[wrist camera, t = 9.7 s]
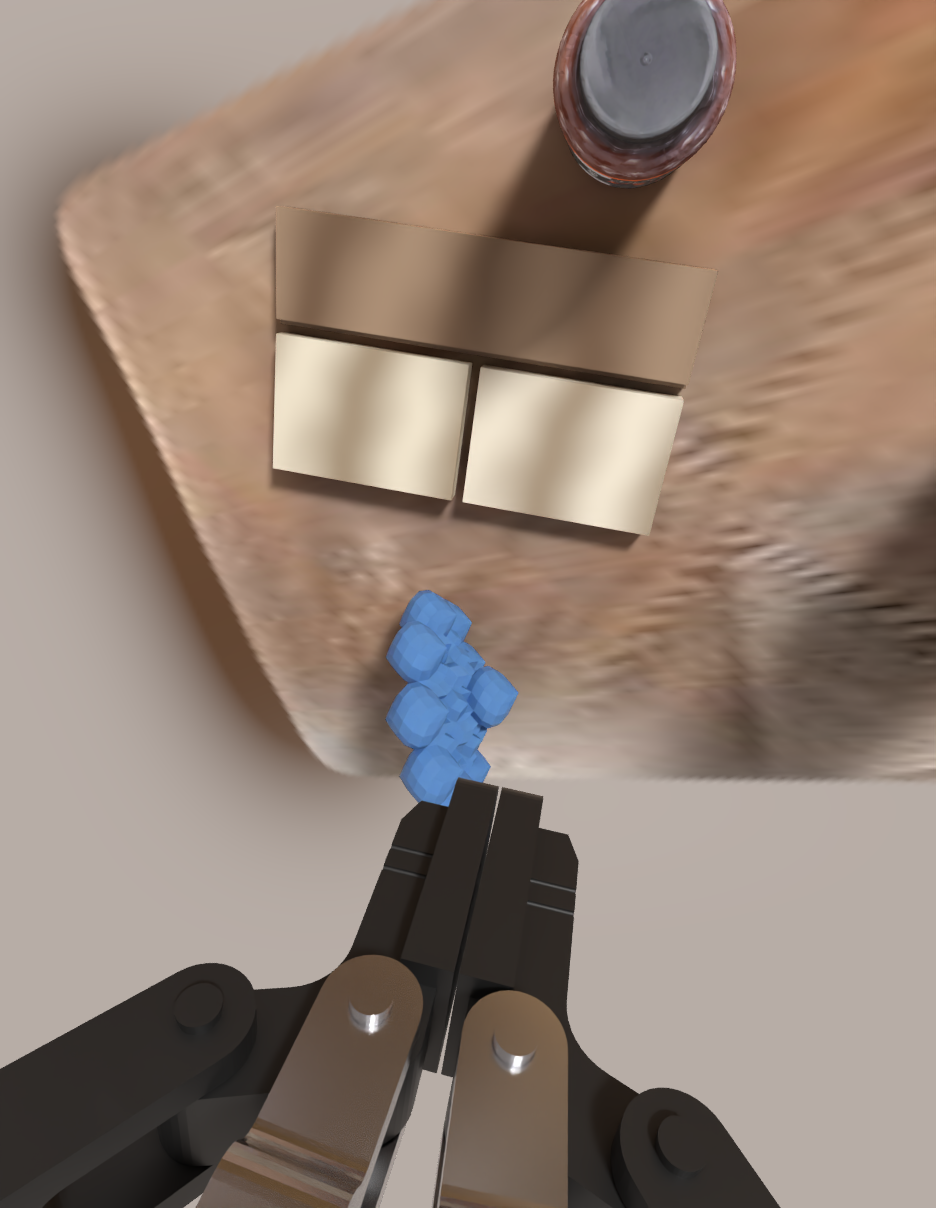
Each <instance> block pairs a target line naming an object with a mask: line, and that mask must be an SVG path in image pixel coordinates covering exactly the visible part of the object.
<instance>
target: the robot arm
mask: <svg viewBox="0 0 936 1208" xmlns="http://www.w3.org/2000/svg"><path fill="white" fill-rule="evenodd" d="M498 789H499V787H498V786H494V785H490V784H486V783H481V782H477V781H473V780H468V779H464V778H460V777H458V779H457V781H456V784H455V787H454V791H453V794H452V797H451V800H450V803H449V806H448V807H447V806H443V805H439V804H435V803H430V802H426V801H421V802H419V803H418V804H417V805H416V806H415V807H414V808H413V809H412V810H411V811H410V812H409V813H408V814H407V815H406V816H405V817H404V818H402V820H401V822H400V825H399V827H398V830H397V832H396V835H395V837H394V840H393V842H392V847H391V849H390V850H389V853H388V856H387V858H386V861H385V863H384V867H383V870H382V871H381V874H380V876H379V879H378V881H377V884H376V886H375V889H374V892H373V894H372V897H371V899H370V902H369V904H368V907H367V909H366V912H365V915H364V917H363V920H362V923H361V925H360V928H359V930H358V933H357V935H356V938H355V940H354V943H353V946H352V948H351V950H350V952H349V954H348V955H347V957H346V958H345V960H344V961H343V962H342V963H341V964H340V965H339V966H338V967H337V968H336V969H335V970H334V971H332V972H331V973H330V974H328V975H327V976H325V977H323V978H322V979H320V980H318V981H315V982H313V983H310V984H307V985H303V986H297V987H290V988H289V987H288V988H273V989H258V990H254V989H253V987H252V985H251V983H250V981H249V980H248V979H247V978H246V976H245V975H243V974H242V973H241V972H240V971H238V970H236V969H235V968H233V967H230V966H227V965H224V964H218V963H205V964H199V965H195V966H191V967H188V968H186V969H184V970H181V971H179V972H177V973H175V974H174V975H172V976H170V977H168V978H166V979H164V980H163V981H161V982H159V983H157V984H155V985H153V986H151V987H150V988H148V989H146V990H144V991H142V992H140V993H139V994H137V995H135V996H133V997H131V998H130V999H128V1000H126V1001H124V1002H122V1003H120V1004H119V1005H117V1006H115V1007H113V1008H111V1009H109V1010H107V1011H106V1012H104V1013H102V1014H100V1015H98V1016H97V1017H95V1018H93V1019H91V1020H89V1021H87V1022H85V1023H84V1024H82V1025H80V1026H78V1027H76V1028H75V1029H73V1030H71V1031H69V1032H67V1033H65V1034H64V1035H62V1036H60V1037H58V1038H56V1039H54V1040H52V1041H51V1042H49V1043H47V1044H45V1045H43V1046H41V1047H40V1048H38V1049H36V1050H35V1051H32V1052H31V1053H29V1054H27V1055H25V1056H23V1057H21V1058H20V1059H18V1060H16V1061H14V1062H12V1063H10V1064H9V1065H7V1066H5V1067H3V1068H1V1069H0V1208H183V1207H185V1206H186V1205H187V1204H189V1203H190V1202H191V1201H193V1200H194V1199H196V1198H197V1197H198V1196H199V1195H201V1194H202V1193H203V1194H202V1196H201V1198H200V1200H199V1202H198V1204H197V1206H196V1208H379V1207H380V1204H381V1201H382V1198H383V1195H384V1191H385V1188H386V1185H387V1182H388V1179H389V1176H390V1173H391V1170H392V1167H393V1164H394V1161H395V1157H396V1155H397V1151H398V1148H399V1145H400V1142H401V1139H402V1136H403V1133H404V1130H405V1126H406V1123H407V1121H408V1119H409V1117H410V1115H411V1112H412V1109H413V1105H414V1101H415V1097H416V1093H417V1089H418V1085H419V1080H420V1077H421V1073H422V1069H423V1070H427V1071H430V1072H434V1073H437V1069H438V1065H439V1061H440V1056H441V1052H442V1048H443V1043H444V1038H445V1035H446V1030H447V1026H448V1021H449V1017H450V1013H451V1008H452V1004H453V1000H454V996H455V1000H454V1005H453V1011H452V1016H451V1023H450V1027H449V1033H448V1039H447V1045H446V1050H445V1056H444V1061H443V1067H442V1072H441V1074H443V1075H446V1076H450V1077H453V1081H452V1086H451V1091H450V1097H449V1102H448V1107H447V1112H446V1117H445V1123H444V1128H443V1133H442V1138H441V1145H440V1151H439V1159H438V1166H437V1173H436V1181H435V1187H434V1194H433V1202H432V1208H780V1207H779V1205H778V1204H777V1202H776V1201H775V1199H774V1198H773V1196H772V1195H771V1194H770V1192H769V1191H768V1189H767V1188H766V1186H765V1185H764V1184H763V1182H762V1181H761V1179H760V1178H759V1176H758V1175H757V1173H756V1172H755V1171H754V1169H753V1168H752V1166H751V1165H750V1163H749V1162H748V1161H747V1159H746V1158H745V1156H744V1155H743V1153H742V1152H741V1150H740V1149H739V1148H738V1146H737V1145H736V1143H735V1142H734V1140H733V1139H732V1138H731V1136H730V1135H729V1133H728V1132H727V1130H726V1129H725V1128H724V1126H723V1125H722V1123H721V1122H720V1121H719V1120H718V1118H717V1117H716V1116H715V1115H714V1114H713V1113H712V1112H711V1111H710V1110H709V1109H708V1108H707V1107H706V1106H705V1105H704V1104H702V1103H701V1102H700V1101H698V1100H697V1099H695V1098H694V1097H692V1096H690V1095H688V1094H686V1093H684V1092H681V1091H679V1090H675V1089H670V1088H655V1089H649V1090H647V1091H644V1092H642V1093H640V1094H638V1093H637V1092H635V1091H634V1090H632V1089H630V1088H629V1087H627V1086H626V1085H624V1084H623V1083H621V1082H620V1081H618V1080H616V1079H615V1078H613V1077H612V1076H610V1075H609V1074H607V1073H606V1072H605V1071H603V1070H601V1069H600V1068H599V1067H598V1066H597V1065H595V1063H593V1062H592V1061H591V1060H590V1059H589V1058H588V1057H587V1055H586V1054H585V1053H584V1052H583V1050H582V1049H581V1048H580V1046H579V1044H578V1043H577V1041H576V1040H575V1037H574V1035H573V1033H572V1031H571V1028H570V1025H569V1021H568V1016H567V991H568V979H569V966H570V956H571V944H572V932H573V921H574V917H573V914H574V909H575V897H576V896H575V895H576V894H575V892H576V885H577V872H578V859H577V857H576V854H575V851H574V849H573V846H572V844H571V841H570V838H569V836H568V835H567V834H563V833H558V832H554V831H550V830H546V829H542V828H539V822H540V815H541V809H542V803H543V796H539V795H534V794H530V793H526V792H521V791H517V790H513V789H508V788H503V787H502V791H501V795H500V799H499V804H498V808H497V812H496V816H495V821H494V825H493V829H492V833H491V828H492V822H493V817H494V811H495V806H496V800H497V795H498ZM490 833H491V838H490ZM489 838H490V842H489ZM488 844H489V846H488ZM487 849H488V851H487ZM486 854H487V855H486ZM456 987H457V988H456ZM455 991H456V994H455Z"/></svg>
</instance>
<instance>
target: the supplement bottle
mask: <svg viewBox="0 0 936 1208" xmlns="http://www.w3.org/2000/svg"><path fill="white" fill-rule="evenodd" d="M735 72H736V39H735V34H734V28H733V24H732V21H731V18H730V15H729V12H728V10H727V8H726V6H725V4H724V2H723V0H583V1H582V2H581V3H580V5H579V6H578V8H577V9H576V11H575V12H574V14H573V16H572V17H571V19H570V21H569V23H568V25H567V27H566V30H565V32H564V34H563V37H562V40H561V42H560V46H559V49H558V53H557V57H556V61H555V67H554V77H553V93H554V103H555V109H556V113H557V118H558V121H559V124H560V127H561V130H562V132H563V134H564V137H565V139H566V141H567V143H568V146H569V148H570V151H571V153H572V155H573V156H574V157H575V160H576V161H577V162H578V164H579V165H580V166H581V167H582V168H583V169H584V170H585V171H586V172H587V173H588V174H589V175H590V176H592V177H593V178H595V179H596V180H598V181H600V182H602V183H604V184H607V185H610V186H613V187H621V188H637V187H641V186H646V185H649V184H651V183H655V182H657V181H658V180H661V179H663V178H665V177H666V176H667V175H669V174H670V173H671V172H673V171H674V170H675V169H677V168H679V167H680V166H681V165H682V164H684V163H685V162H686V161H687V160H689V159H690V158H691V157H692V156H693V155H694V154H695V153H697V151H698V150H699V149H700V148H701V147H702V146H703V145H704V144H705V143H706V142H707V140H708V139H709V138H710V136H711V135H712V133H713V132H714V130H715V129H716V127H717V125H718V124H719V122H720V120H721V118H722V116H723V114H724V112H725V109H726V107H727V104H728V101H729V98H730V96H731V92H732V89H733V84H734V80H735Z"/></svg>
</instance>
